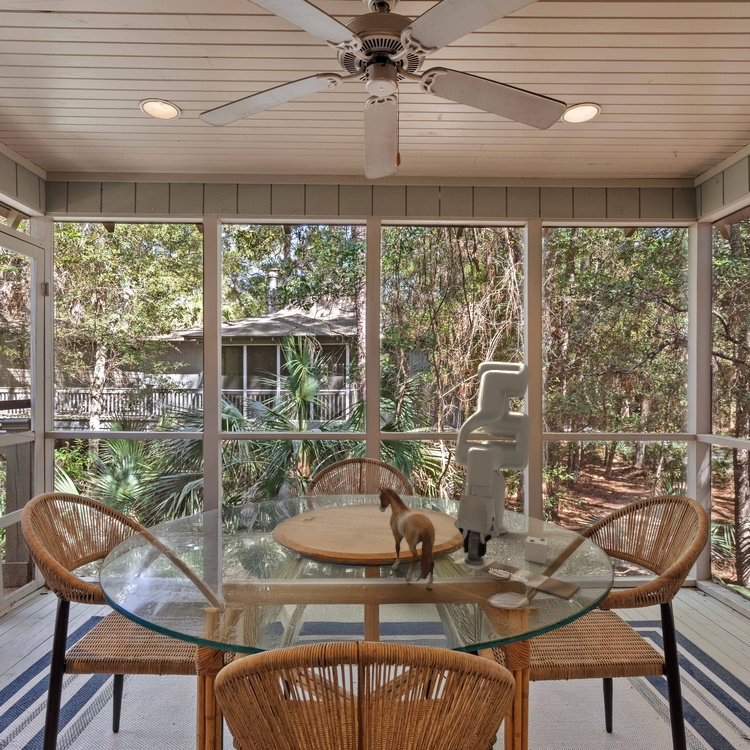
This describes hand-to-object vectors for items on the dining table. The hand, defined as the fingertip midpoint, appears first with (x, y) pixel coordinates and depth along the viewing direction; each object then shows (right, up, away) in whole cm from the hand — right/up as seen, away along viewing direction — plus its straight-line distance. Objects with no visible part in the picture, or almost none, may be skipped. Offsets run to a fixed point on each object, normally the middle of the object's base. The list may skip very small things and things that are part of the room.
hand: (474, 553), depth 149 cm
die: (+20, -4, +6) cm, 21 cm away
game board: (+9, -4, -7) cm, 12 cm away
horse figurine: (-23, -2, -13) cm, 26 cm away
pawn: (0, -2, 0) cm, 2 cm away
